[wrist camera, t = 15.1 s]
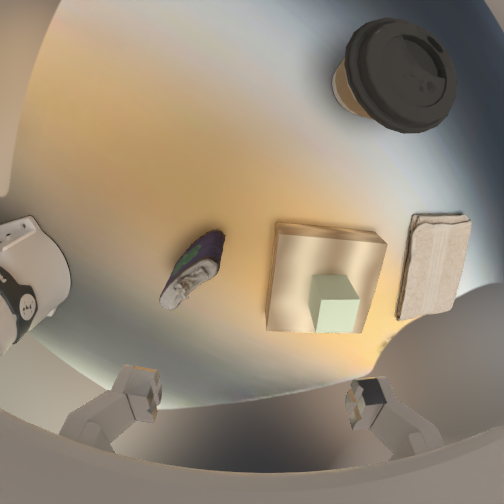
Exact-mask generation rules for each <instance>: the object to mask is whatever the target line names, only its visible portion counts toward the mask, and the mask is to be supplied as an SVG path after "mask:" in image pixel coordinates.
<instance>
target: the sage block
mask: <svg viewBox="0 0 504 504" xmlns="http://www.w3.org/2000/svg"><path fill="white" fill-rule="evenodd" d="M359 303H360V298H359V296H358V295H357V293H356V291H355V289H354V288H353V286H352V284H351V282H350V281H349V279H348V277H347V276H346V275H312V280H311V287H310V295H309V302H308V307H309V310H310V314H311V318H312V321H313V325H314V329H315V332H316V333H336V332H352V331H353V328H354V324H355V319H356V315H357V311H358V307H359Z"/></svg>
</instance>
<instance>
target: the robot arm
mask: <svg viewBox="0 0 504 504" xmlns="http://www.w3.org/2000/svg"><path fill="white" fill-rule="evenodd" d="M25 225H26V226H25ZM70 285H71V280H70V273H69V269H68V265H67V263H66V260H65V258H64V256H63V254H62V252H61V251H60V249H59V248H58V246H57V245H56V244H55V243H54V242H53V241H52V240H51V239H50V238H49V237H48V236H47V235H46V234H45V233H44V232H43V231H42V230H41V229H40V227H39V226H38V224H37V222H36V221H35V219H34V218H33V217H32V216H27V217H24V218H20V219H17V220H14V221H10V222H7V223H4V224H1V225H0V359H1V358H2V356H3V355H4V353H5V352H6V351H7V349H8V348H9V347H10V346H11V345H12V344H15V343H17V342H18V341H19V340H20V339H22V337H23V336H24V334H25V333H26V332H27V331H30V330H31V329H32V328H34V327H35V326H36V325H37V324H38V323H39V322H40V321H41V320H43V319H44V318H45V317H46V316H49V317H51V316H52V315H53V314H54V313H55V311H56V309H57V306H58V305H59V304H60V303H62V302H63V301H64V300H65V299H66V298H67V296H68V294H69V291H70ZM159 377H160V375H159V371H158V370H153V369H148V368H142V367H137V366H131V365H126V364H124V365H123V366H122V368H121V370H120V372H119V374H118V376H117V379H116V381H115V383H114V385H113V387H112V389H111V391H109V390H107V391H106V392H104V393H103V394H101V395H99V396H98V397H96V398H94V399H93V400H92V401H90V402H88V403H86V404H85V405H83V406H81V407H80V408H78V409H76V410H75V411H73V412H71V413H70V414H69V415H68V417H67V419H66V421H65V423H64V425H63V427H62V429H61V431H60V433H59V435H57V434H55V433H52V432H50V431H47V430H45V429H42V428H40V427H38V426H35V425H33V424H31V423H29V422H27V421H25V420H22V419H20V418H18V417H16V416H14V415H12V414H10V413H8V412H6V411H4V410H2V409H0V504H504V427H503V426H497V427H495V428H493V429H490V430H488V431H485V432H483V433H480V434H478V435H475V436H473V437H470V438H467V439H465V440H462V441H459V442H456V443H454V444H451V445H447V446H445V444H444V442H443V440H442V438H441V436H440V434H439V431H438V429H437V427H436V426H435V425H433V424H432V423H430V422H429V421H427V420H426V419H425V418H423V417H421V416H420V415H419V414H417V413H416V412H415V411H413V410H412V409H410V408H409V407H407V406H406V405H404V404H403V403H402V402H398V401H397V398H396V396H395V394H394V392H393V389H392V387H391V385H390V383H389V380H388V378H387V377H386V376H382V377H370V378H357V379H354V380H353V381H352V383H351V387H352V389H350V390H349V391H348V392H347V395H346V401H345V403H346V410H347V412H349V413H350V414H351V416H350V418H349V421H350V424H351V428H352V430H363V429H370V431H371V432H373V434H374V435H375V436H376V437H377V438H378V439H379V440H380V441H382V443H383V444H385V446H386V447H387V448H388V449H389V450H391V452H392V453H393V455H392V457H391V458H390V459H389V460H388V461H387V462H382V463H377V464H371V465H365V466H359V467H352V468H344V469H336V470H327V471H315V472H299V473H238V472H222V471H210V470H201V469H193V468H185V467H178V466H172V465H166V464H161V463H155V462H150V461H145V460H141V459H136V458H131V457H128V456H124V455H119V454H116V453H115V452H114V450H113V448H112V447H111V445H110V443H111V442H112V441H113V440H115V439H116V438H117V437H118V436H119V435H120V434H122V433H123V432H124V431H125V430H126V429H127V428H128V427H130V426H131V425H132V424H133V423H134V422H135V420H136V421H142V422H148V423H155V419H156V416H157V412H158V411H157V407H156V406H157V405H159V404H160V402H161V397H162V385H161V383H160V382H159Z"/></svg>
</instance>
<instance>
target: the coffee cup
mask: <svg viewBox="0 0 504 504" xmlns="http://www.w3.org/2000/svg"><path fill="white" fill-rule="evenodd" d="M332 87H333V92H334V95H335V97H336V99H337V101H338V102H339V103H340V104H341V106H342V107H343V108H344V109H346V110H347V111H349V112H351V113H352V114H356V115H359V116H363V117H367V118H371V119H374V120H376V121H377V122H378V123H380V124H381V125H383V126H384V127H386V128H388V129H391V130H394V131H397V132H400V133H403V134H404V133H421V132H425V131H427V130H429V129H432V128H434V127H436V126H438V125H439V124H440V123H441V122H442V121H443V120H444V119H445V118H446V117H447V116H448V113H449V111H450V109H451V107H452V105H453V102H454V100H455V98H456V90H457V79H456V73H455V68H454V66H453V63H452V61H451V59H450V57H449V54H448V53H447V51H446V50H445V48H444V47H443V46H442V45H441V43H440V42H439V41H438V40H437V39H436V38H435V37H434V36H433V35H431V34H430V33H429V32H428V31H426V30H425V29H423V28H421V27H419V26H417V25H414V24H412V23H410V22H408V21H405V20H402V19H394V18H383V19H378V20H374V21H371V22H368V23H366V24H364V25H363V26H362V27H360V28H359V29H358V30H356V31H355V32H354V33H353V35H352V37H351V39H350V41H349V43H348V44H347V46H346V53H345V57H344V59H343V60H342V62H341V63H340V65H339V66H338V68H337V69H336V71H335V73H334V75H333V81H332Z"/></svg>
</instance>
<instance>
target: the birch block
mask: <svg viewBox="0 0 504 504" xmlns="http://www.w3.org/2000/svg"><path fill="white" fill-rule="evenodd" d="M386 248H387V243H386V242H385V241H384V240H383V239H382V238H381V237H379V236H378V235H377V234H376V233H375V232H370V231H361V230H352V229H342V228H332V227H322V226H312V225H301V224H290V223H279V222H276V229H275V238H274V246H273V255H272V263H271V271H270V279H269V288H268V295H267V303H266V311H265V314H266V331H280V332H305V333H316V332H315V329H314V325H313V321H312V318H311V314H310V310H309V307H308V302H309V295H310V287H311V280H312V275H346V276H347V277H348V279H349V281H350V282H351V284H352V286H353V288H354V289H355V291H356V293H357V295H358V296H359V298H360V303H359V307H358V311H357V315H356V319H355V324H354V328H353V331H352V332H336V333H362V330H363V327H364V324H365V321H366V318H367V315H368V312H369V308H370V305H371V302H372V299H373V296H374V292H375V289H376V285H377V282H378V278H379V275H380V271H381V267H382V264H383V260H384V256H385V252H386Z"/></svg>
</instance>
